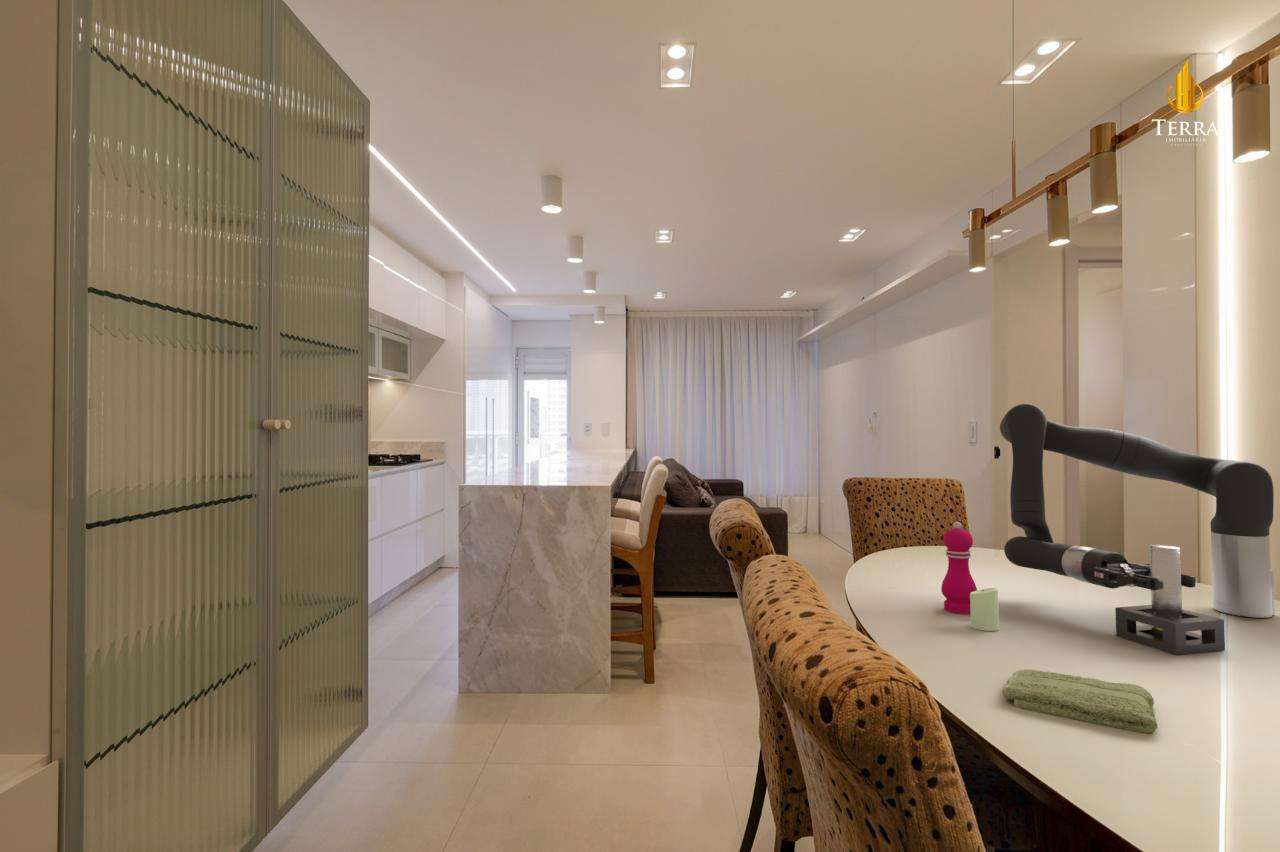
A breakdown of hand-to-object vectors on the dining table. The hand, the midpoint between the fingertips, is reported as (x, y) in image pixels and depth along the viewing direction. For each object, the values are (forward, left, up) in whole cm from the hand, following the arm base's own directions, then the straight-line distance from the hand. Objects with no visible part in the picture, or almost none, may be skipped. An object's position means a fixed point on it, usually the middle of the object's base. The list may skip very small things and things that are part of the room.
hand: (1175, 583), depth 113 cm
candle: (+26, -18, -12) cm, 34 cm away
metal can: (0, -2, -11) cm, 12 cm away
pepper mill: (+22, -30, -12) cm, 39 cm away
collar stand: (0, -2, -11) cm, 12 cm away
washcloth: (+40, +16, -12) cm, 45 cm away
